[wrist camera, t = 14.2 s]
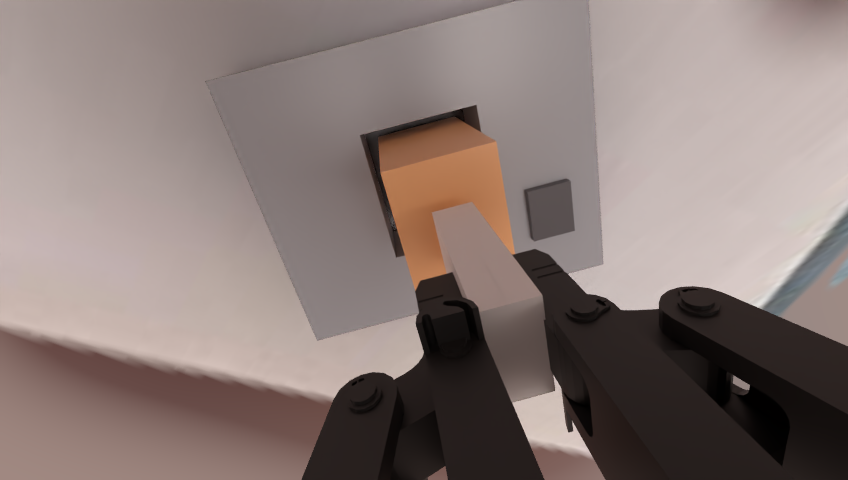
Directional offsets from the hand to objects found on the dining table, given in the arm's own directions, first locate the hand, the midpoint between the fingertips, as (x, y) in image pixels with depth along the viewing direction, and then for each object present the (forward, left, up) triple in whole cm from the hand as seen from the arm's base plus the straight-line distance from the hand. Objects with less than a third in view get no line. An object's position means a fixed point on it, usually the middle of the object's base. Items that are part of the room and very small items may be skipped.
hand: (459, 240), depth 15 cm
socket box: (0, 0, -11) cm, 11 cm away
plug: (0, 0, -11) cm, 11 cm away
